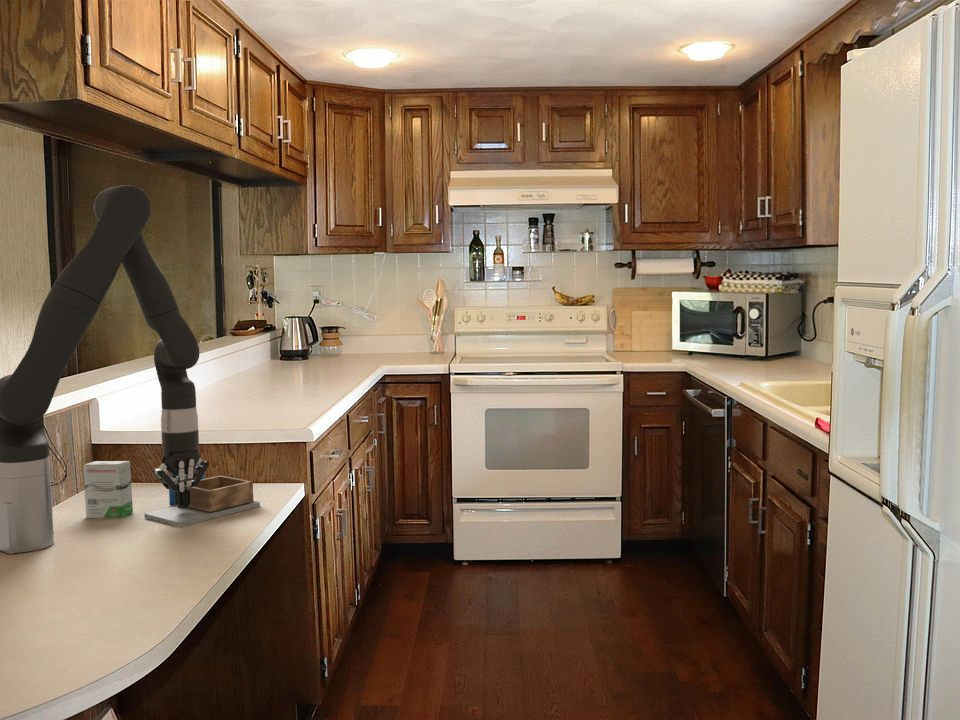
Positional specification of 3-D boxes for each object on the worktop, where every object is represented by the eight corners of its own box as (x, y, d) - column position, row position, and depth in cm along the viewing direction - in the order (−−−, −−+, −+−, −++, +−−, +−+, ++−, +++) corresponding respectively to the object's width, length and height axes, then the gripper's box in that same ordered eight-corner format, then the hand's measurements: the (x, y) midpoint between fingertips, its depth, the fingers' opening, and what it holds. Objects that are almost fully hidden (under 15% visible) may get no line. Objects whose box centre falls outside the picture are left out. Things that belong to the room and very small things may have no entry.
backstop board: (178, 527, 180) (177, 503, 179) (144, 518, 187) (143, 495, 187) (259, 506, 196) (259, 484, 196) (225, 498, 204) (224, 477, 204)
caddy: (209, 511, 186) (208, 491, 186) (178, 504, 193) (177, 484, 193) (253, 501, 195) (252, 481, 195) (221, 494, 202) (220, 475, 202)
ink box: (134, 512, 192) (131, 459, 191) (122, 518, 187) (120, 464, 186) (96, 512, 193) (94, 459, 192) (84, 518, 188) (81, 464, 187)
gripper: (162, 434, 179) (165, 516, 180) (216, 426, 189) (219, 504, 191) (142, 431, 183) (145, 511, 185) (196, 423, 194) (198, 499, 195)
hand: (183, 507), depth 188 cm, fingers closed
